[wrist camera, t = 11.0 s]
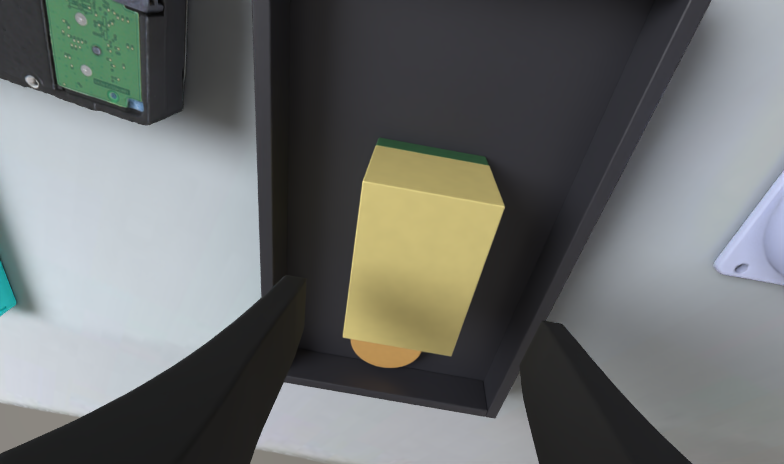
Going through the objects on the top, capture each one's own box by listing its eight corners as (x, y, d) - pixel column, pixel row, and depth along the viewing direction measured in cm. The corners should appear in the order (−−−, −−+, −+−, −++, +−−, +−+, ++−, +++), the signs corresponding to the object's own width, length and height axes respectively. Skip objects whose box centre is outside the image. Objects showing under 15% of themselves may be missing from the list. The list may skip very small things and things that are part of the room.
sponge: (486, 156, 16) (505, 206, 12) (446, 286, 19) (451, 357, 15) (378, 136, 15) (362, 180, 12) (359, 270, 19) (342, 338, 15)
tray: (677, -29, 12) (731, -36, 10) (489, 379, 23) (495, 419, 21) (279, -105, 12) (246, -129, 10) (279, 343, 23) (263, 379, 21)
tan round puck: (430, 314, 20) (430, 324, 20) (415, 362, 22) (415, 374, 22) (357, 300, 20) (354, 310, 19) (348, 350, 22) (346, 361, 22)
